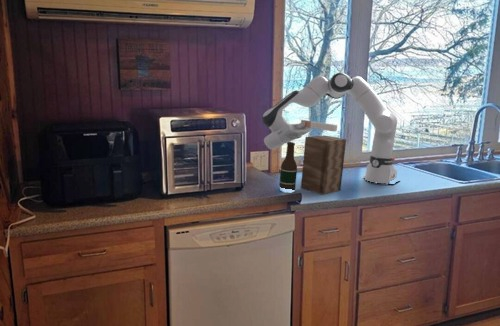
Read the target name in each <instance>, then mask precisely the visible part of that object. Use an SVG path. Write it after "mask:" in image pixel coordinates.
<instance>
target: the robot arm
mask: <svg viewBox="0 0 500 326" xmlns="http://www.w3.org/2000/svg"><path fill="white" fill-rule="evenodd" d="M345 94H348V95H350V96H351V97H352V99H353V100H354V101H355V103H357V105H358V106H359V107H360V108H361V110H362V111H363V112H364V114H365V115H366V117H367V119H368V120H369V121H370V123H371V124H372V125H373V127H374V128H375V130H374V135H373V140H372V146H371V153H370V156H369V163H368V164H367V165H366V170H365V175H363V177H362V178H363V179H364V178H365V179H364V180H365V181H366V180H367V181H366V182H368V181H370V182H369V183H371V182H377V183H390V181H392V180H394V179H395V178H398V177H397V176H398V171H397V169H396V168H395V166H394V165H393V163H394V162H395V161H396V159H395V157H393V151H394V143H395V138H396V132H397V125H398V119H397V116H396V115H395V113H393V112H391V111H389V109H388V108H387V106H386V105H385V103H384V102H383V101H382V99H381V97H379V95H378V94H377V93H376V91H375V90H374V89H373V87H371V85H370V84H369V83H368V82H367V81H366V80H365V79H363V78H362V76H354V77H352V76H350V75H348V74H346V73H344V72H337V73H334V74H333V75H332V77H331V78H330V79H328V78H326V77H325V76H322V75H316V76H315V77H314V78H313V79H311V80H310V81H309V82H308V83H307V84H306V85H305V86H304V87H303V88H301V89H300V90H294V91H292V92H290V93H288V95H286V96H285V97H283V98H282V99H281V100H280V101H278V102H277V103H276V104H275V105H273V106H272V107H271V108H269V109H267V110H266V111H265V112H264V113H263V114H262V118H261V119H262V124H263V125H265V127H267V128H268V129H269V130H271V133H269V134H268V135H266V136H265V137H263V142H264V145H265V147H267V149H268V150H275V149H278V148H280V147H283V146H284V145H285V144H287V143H288V142H293V141H295V140H297V139H300V138H302V136H305V135H306V134H308V133H310V132H311V131H312V130H313V129H314V128H309V127H303V126H305V125H306V122H302V123H301V122H300V123H289V121H288V120H286V119H285V118H284V117H283V116H282V114H281V112H282V111H283V110H284V109H285V108H287V107H288V106H289V105H290V104H291V105H292V104H297V105H299V106H302V107H304V108H311V107H314V106H315V105H317V104H318V103H319V102H320V101H321V99H322V98H323V97H324V96H327V97H330V98H331V99H334V100H336V99H341V98H342V97H344V96H345ZM377 183H376V184H377Z"/></svg>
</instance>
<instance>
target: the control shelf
mask: <svg viewBox="0 0 500 326" xmlns="http://www.w3.org/2000/svg"><path fill="white" fill-rule="evenodd" d="M346 143H347V139H345V138H340V137H336V136H329V135H326V134H325V135H316V136H315V135H313V136H305V139H304V148H303V149H304V151H303V161H302V172H301V183H300V184H301V185H300V190H305V191H308V192H312V193H315V194H320V195H326V194H330V193H333V192H337V191H338V192H339V191H342V189H341V188H342V180H343V171H344V161H345V152H346Z"/></svg>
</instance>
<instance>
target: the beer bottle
mask: <svg viewBox="0 0 500 326" xmlns="http://www.w3.org/2000/svg"><path fill="white" fill-rule="evenodd" d="M286 145H287V147H286V155H285V158H284V159H283V161H282V162H281V165H280V172H279V182H278V183H279V184H278V185H279V186H280V187H281V188H285V189H292V190H295V191H296V184H297V183H296V182H297V173H298V172H297V171H298V166H297V165H298V164H297V162H296V160H295V145H296V143H295V142H293V141H290V142H288V143H286ZM279 186H278V187H279Z"/></svg>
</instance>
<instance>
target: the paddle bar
mask: <svg viewBox="0 0 500 326" xmlns="http://www.w3.org/2000/svg"><path fill="white" fill-rule="evenodd" d="M302 122H306V125H305V126H303V127H309V128H313V129H315V130H317V129H318V130H322V131H327V132H328V131H329V132H338V131H337V130H338V125H337V124H332V123H325V122H319V121H313V120H305V119H301V120H300V123H302Z"/></svg>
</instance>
